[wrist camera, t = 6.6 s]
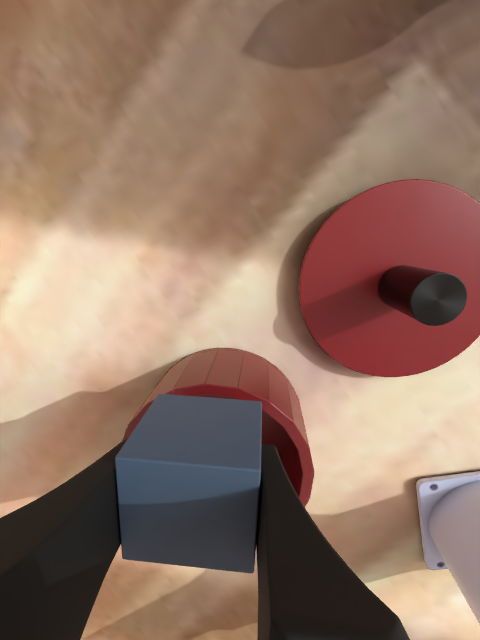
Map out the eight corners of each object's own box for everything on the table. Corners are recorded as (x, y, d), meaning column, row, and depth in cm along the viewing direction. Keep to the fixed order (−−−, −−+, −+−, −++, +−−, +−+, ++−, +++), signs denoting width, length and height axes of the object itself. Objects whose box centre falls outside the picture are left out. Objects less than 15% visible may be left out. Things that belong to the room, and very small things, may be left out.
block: (261, 400, 13) (261, 470, 9) (256, 480, 14) (253, 574, 10) (158, 393, 13) (113, 458, 9) (160, 471, 14) (121, 560, 10)
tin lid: (488, 159, 16) (585, 124, 11) (495, 352, 19) (576, 391, 14) (281, 210, 18) (288, 199, 13) (313, 383, 20) (330, 429, 15)
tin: (285, 333, 20) (293, 367, 14) (312, 468, 22) (327, 539, 17) (134, 363, 21) (92, 404, 16) (176, 487, 23) (151, 558, 18)
